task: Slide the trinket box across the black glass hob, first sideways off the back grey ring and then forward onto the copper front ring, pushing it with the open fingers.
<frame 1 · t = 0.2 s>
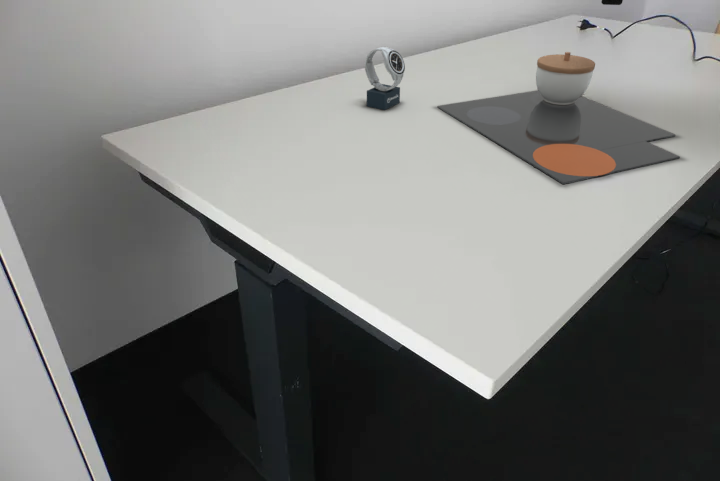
hob: (562, 127, 97), on the table
trinket box: (558, 101, 109), resting on hob
watch: (383, 105, 109), on the table
front ring: (573, 160, 85), resting on hob
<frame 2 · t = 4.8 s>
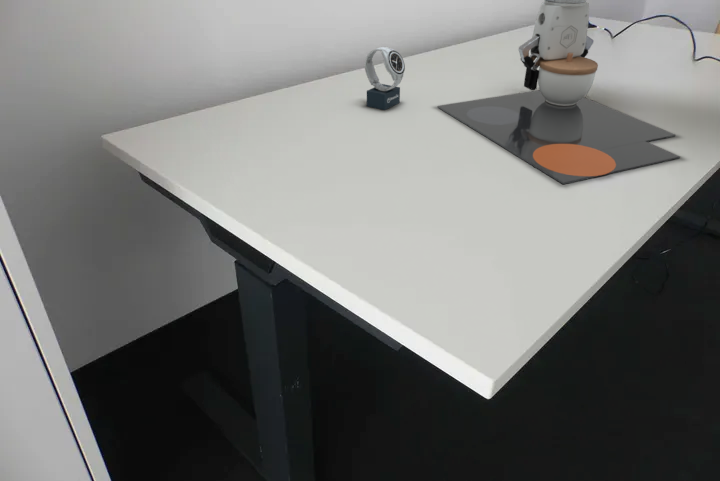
hand: (549, 85, 111), 2 cm above the table, tool pointing down
trinket box: (560, 102, 109), resting on hob, touching gripper
everything else where it was.
when the fingers open (2 cm above the table, at t = 10.4 s): trinket box stays where it is, resting on hob.
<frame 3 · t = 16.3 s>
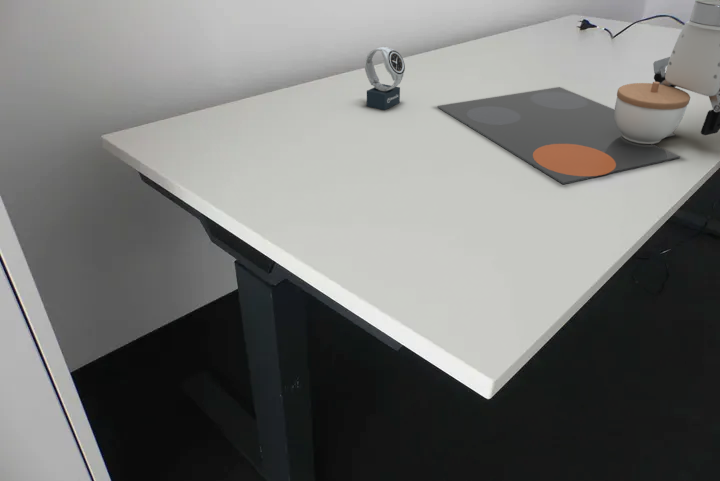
hand: (683, 123, 91), 3 cm above the table, tool pointing down, fingers open, 9 cm apart
trinket box: (640, 138, 92), resting on hob, touching gripper
everything else where it was.
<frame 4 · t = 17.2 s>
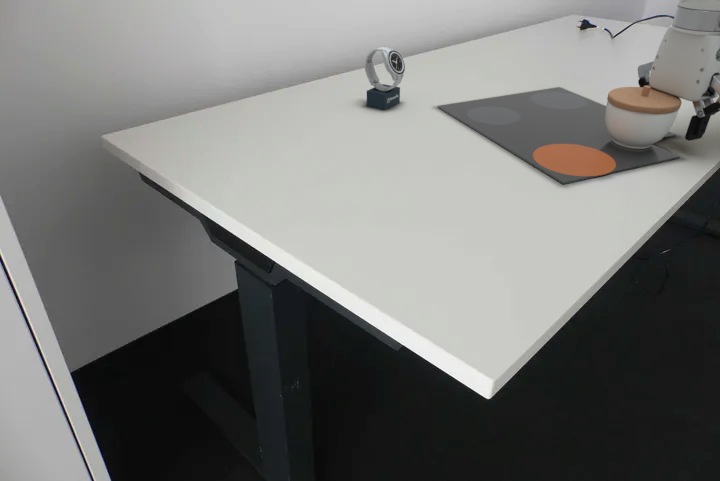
hand: (668, 128, 90), 2 cm above the table, tool pointing down, fingers open, 9 cm apart
trinket box: (631, 143, 91), resting on hob, touching gripper
everything else where it was.
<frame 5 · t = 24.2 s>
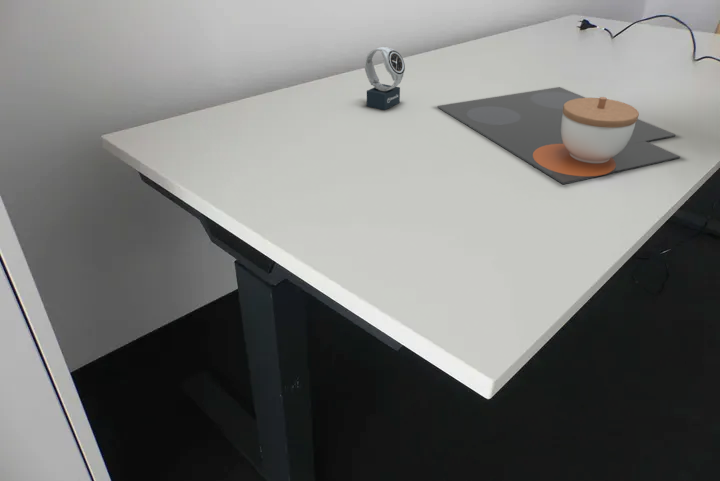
trinket box: (589, 156, 86), resting on front ring
everything else where it was.
at the end: trinket box inside the target area on the front ring (3.2 cm from its centre), point 0.1 cm above the front ring's base; trinket box tilted 0°; trinket box moved 27.7 cm from its start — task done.
